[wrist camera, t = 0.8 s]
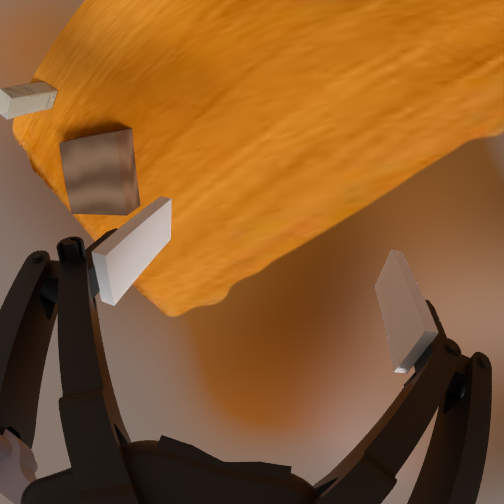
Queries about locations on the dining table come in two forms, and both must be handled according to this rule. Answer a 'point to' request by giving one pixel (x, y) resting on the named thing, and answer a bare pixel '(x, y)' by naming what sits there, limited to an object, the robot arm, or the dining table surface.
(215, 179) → the dining table surface
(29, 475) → the robot arm
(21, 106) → the skincare box
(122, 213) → the plate
